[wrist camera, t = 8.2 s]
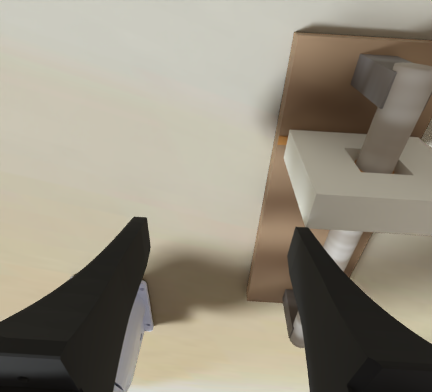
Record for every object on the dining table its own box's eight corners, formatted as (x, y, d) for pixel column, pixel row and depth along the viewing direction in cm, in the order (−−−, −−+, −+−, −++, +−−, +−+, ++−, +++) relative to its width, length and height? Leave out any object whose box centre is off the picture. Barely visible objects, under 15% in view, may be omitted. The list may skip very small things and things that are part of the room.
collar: (404, 165, 19) (475, 238, 13) (283, 158, 19) (305, 228, 13) (418, 137, 18) (502, 205, 12) (289, 129, 18) (316, 194, 12)
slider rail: (331, 295, 30) (350, 354, 25) (246, 290, 30) (249, 348, 25) (454, 41, 16) (552, 66, 11) (294, 32, 16) (321, 52, 11)
